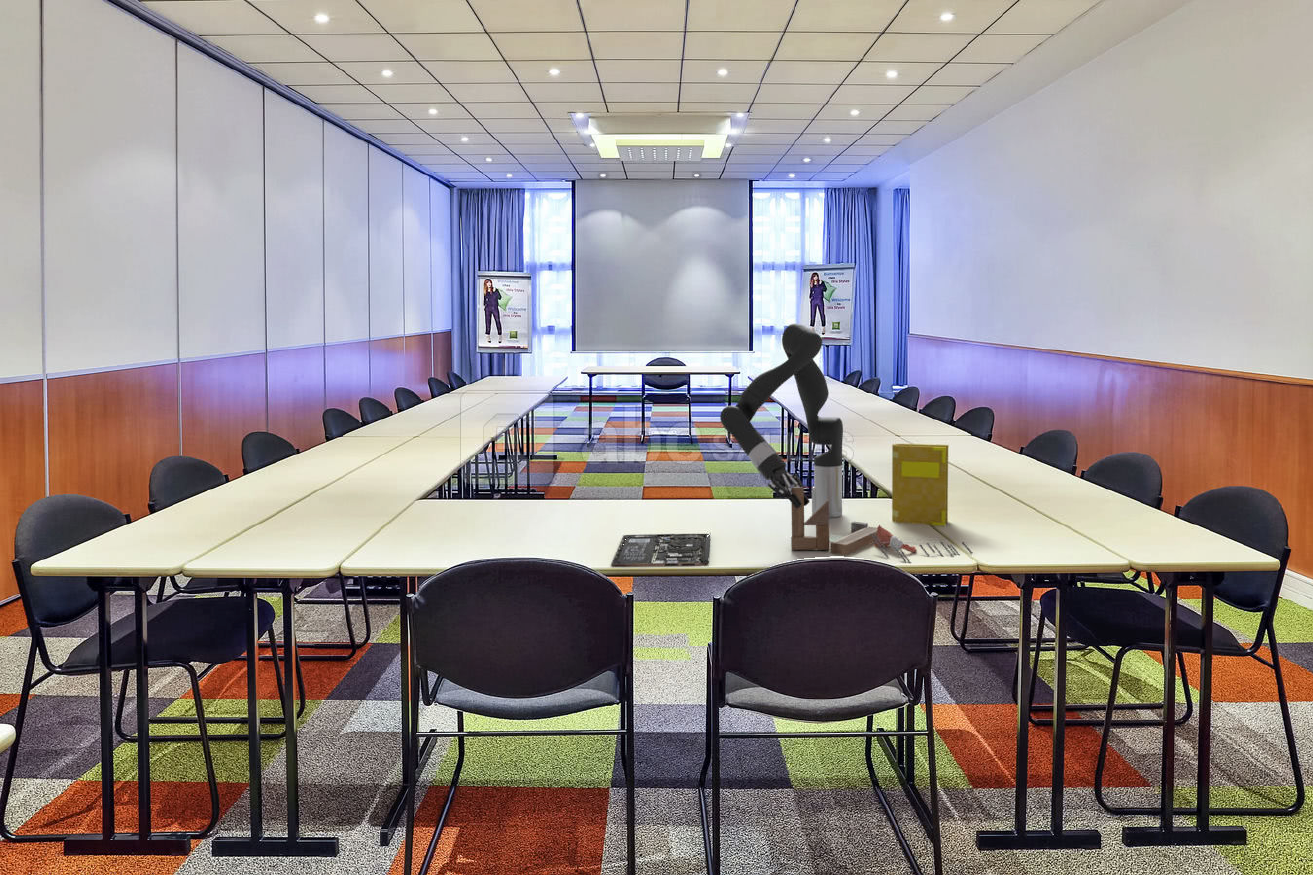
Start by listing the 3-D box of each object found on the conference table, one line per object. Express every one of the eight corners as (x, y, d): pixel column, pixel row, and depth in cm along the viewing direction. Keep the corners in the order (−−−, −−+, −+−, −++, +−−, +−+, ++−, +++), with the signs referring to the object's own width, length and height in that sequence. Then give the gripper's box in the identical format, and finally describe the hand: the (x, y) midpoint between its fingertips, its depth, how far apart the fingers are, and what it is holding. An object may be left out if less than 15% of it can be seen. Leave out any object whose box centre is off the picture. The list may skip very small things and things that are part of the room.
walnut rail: (816, 550, 269) (816, 537, 268) (854, 534, 287) (854, 521, 287) (846, 555, 263) (846, 541, 262) (883, 538, 281) (883, 525, 281)
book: (947, 521, 301) (948, 444, 298) (944, 526, 295) (945, 447, 292) (894, 518, 308) (894, 443, 305) (890, 522, 302) (890, 446, 299)
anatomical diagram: (866, 524, 268) (945, 514, 273) (862, 549, 272) (940, 538, 277) (898, 568, 251) (982, 556, 256) (893, 593, 255) (976, 581, 260)
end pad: (810, 539, 282) (810, 538, 282) (823, 534, 288) (823, 533, 288) (846, 544, 275) (846, 543, 275) (858, 539, 281) (858, 538, 281)
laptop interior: (622, 538, 293) (622, 533, 293) (711, 537, 291) (711, 531, 290) (608, 570, 259) (607, 563, 258) (708, 568, 256) (708, 561, 256)
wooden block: (829, 550, 267) (828, 487, 267) (791, 550, 269) (790, 487, 268) (828, 548, 271) (827, 486, 271) (791, 548, 272) (790, 486, 272)
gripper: (761, 455, 268) (799, 501, 262) (786, 449, 279) (823, 493, 273) (746, 472, 272) (783, 517, 266) (771, 465, 283) (807, 509, 277)
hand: (803, 504), depth 269 cm, fingers closed on wooden block, 3 cm apart
